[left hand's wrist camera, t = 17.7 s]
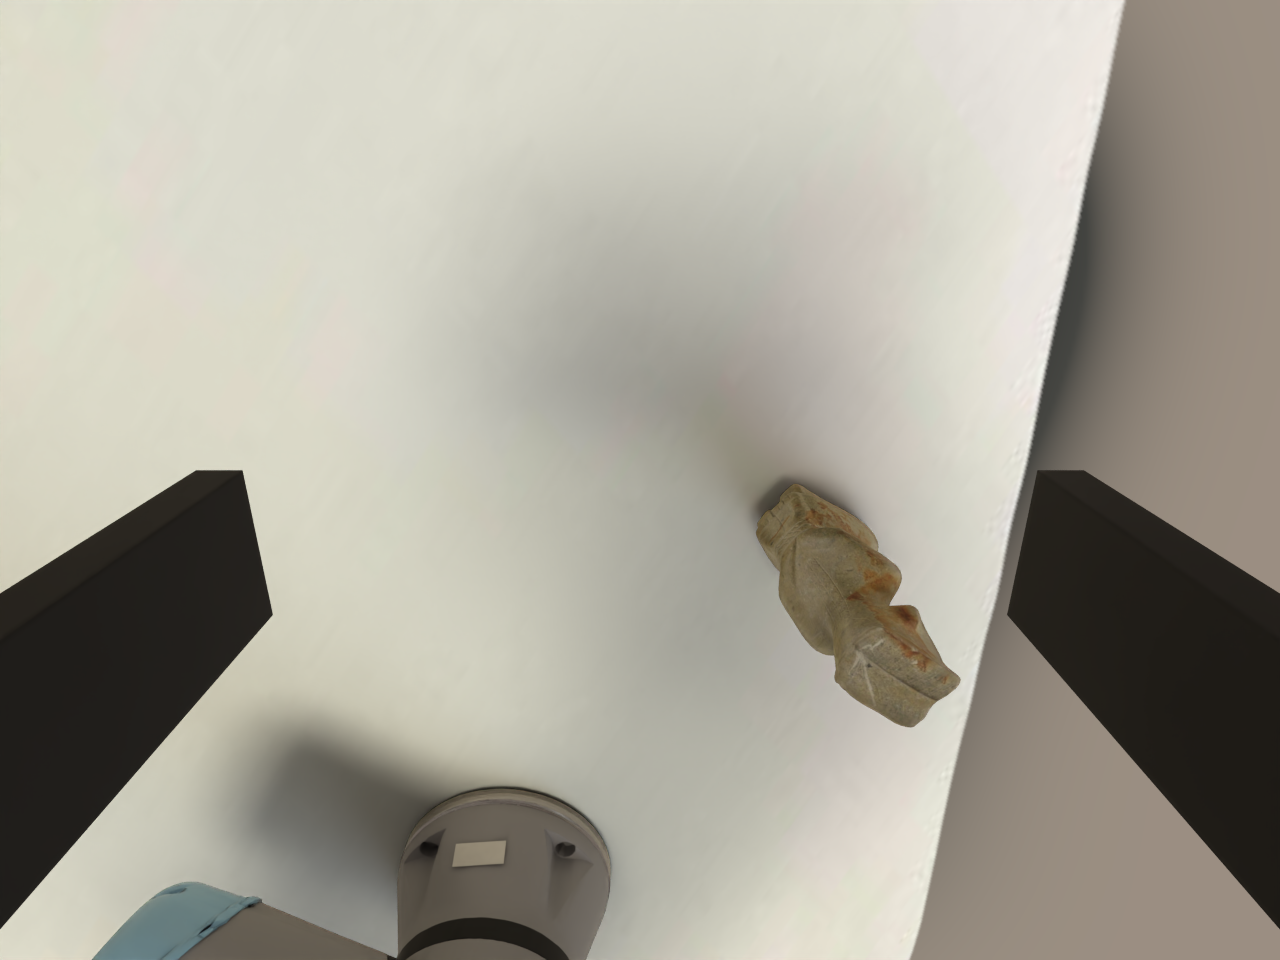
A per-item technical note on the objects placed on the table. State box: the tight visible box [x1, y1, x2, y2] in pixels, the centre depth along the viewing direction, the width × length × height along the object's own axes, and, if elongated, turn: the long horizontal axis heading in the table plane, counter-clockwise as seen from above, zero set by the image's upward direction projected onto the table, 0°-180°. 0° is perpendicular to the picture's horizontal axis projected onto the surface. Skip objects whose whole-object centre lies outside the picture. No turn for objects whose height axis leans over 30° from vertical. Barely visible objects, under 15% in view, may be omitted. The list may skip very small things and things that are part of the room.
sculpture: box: [756, 484, 961, 727], centre depth 37 cm, size 6×7×15 cm
